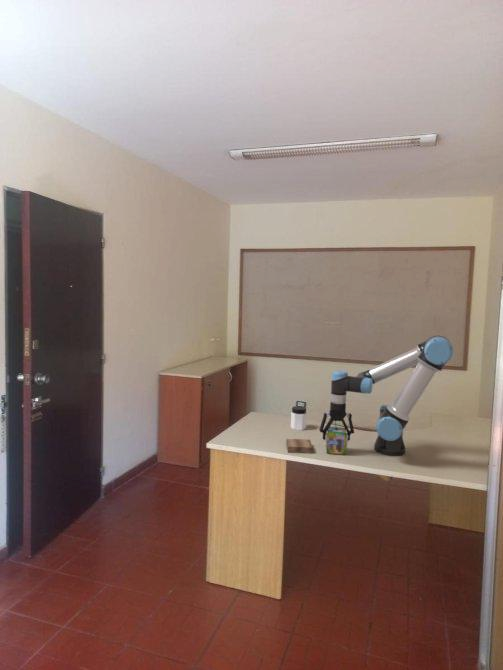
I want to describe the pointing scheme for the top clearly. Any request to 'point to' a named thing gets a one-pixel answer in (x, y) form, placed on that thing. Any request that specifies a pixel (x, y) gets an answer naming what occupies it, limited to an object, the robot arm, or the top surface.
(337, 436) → the chalk box
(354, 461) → the top surface
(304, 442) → the block
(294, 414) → the jar
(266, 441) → the top surface
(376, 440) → the robot arm
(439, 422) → the top surface
